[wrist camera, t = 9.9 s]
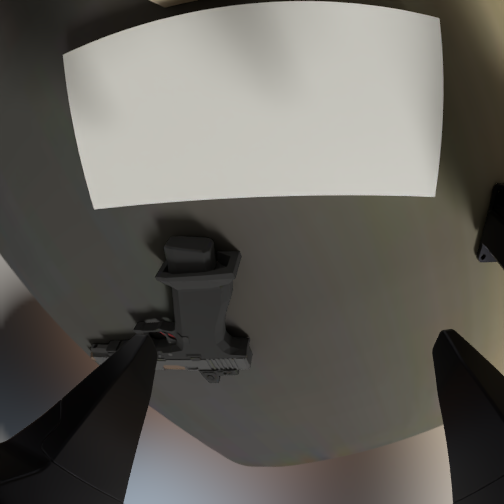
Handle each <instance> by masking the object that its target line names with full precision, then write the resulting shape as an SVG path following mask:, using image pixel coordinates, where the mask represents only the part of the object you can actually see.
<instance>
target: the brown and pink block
mask: <svg viewBox="0 0 504 504" xmlns="http://www.w3.org/2000/svg"><path fill="white" fill-rule="evenodd" d="M150 1H152V2H154V3H156V4H159V5H161V6H163V7H169V6H173V5H178V4H182V3H187V2H191V1H196V0H150Z"/></svg>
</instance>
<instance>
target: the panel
mask: <svg viewBox="0 0 504 504" xmlns="http://www.w3.org/2000/svg"><path fill="white" fill-rule="evenodd" d="M63 61H64V70H65V78H66V85H67V92H68V98H69V104H70V110H71V116H72V121H73V126H74V131H75V136H76V141H77V145H78V150H79V154H80V158H81V163H82V167H83V171H84V174H85V178H86V182H87V186H88V189H89V193H90V196H91V200H92V203H93V207H94V209H102V208H111V207H121V206H131V205H142V204H153V203H165V202H178V201H191V200H207V199H224V198H244V197H268V196H305V195H391V196H425V197H435V192H436V185H437V178H438V169H439V160H440V150H441V138H442V122H443V55H442V40H441V29H440V19H439V18H437V17H433V16H428V15H424V14H420V13H415V12H410V11H405V10H400V9H394V8H388V7H381V6H374V5H365V4H355V3H343V2H325V1H283V2H264V3H252V4H242V5H234V6H226V7H219V8H213V9H207V10H201V11H196V12H191V13H186V14H181V15H177V16H173V17H168V18H164V19H160V20H157V21H153V22H149V23H146V24H142V25H139V26H136V27H133V28H130V29H126V30H123V31H120V32H118V33H115V34H112V35H109V36H106V37H104V38H101V39H99V40H96V41H93V42H91V43H88V44H86V45H84V46H81V47H79V48H77V49H74V50H72V51H70V52H68V53H66V54H64V55H63Z"/></svg>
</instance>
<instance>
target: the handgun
mask: <svg viewBox="0 0 504 504" xmlns="http://www.w3.org/2000/svg"><path fill="white" fill-rule="evenodd" d="M164 251H165V256H166V261H165V262H164V263H163V264H162V266H161V268H160V269H159V271H158V273H157V274H156V276H155V278H156V279H157V281H160V282H162V283H164V284H166V285H169V286H171V287H172V294H173V306H174V316H175V323H170V322H166V321H163V320H162V321H160V322H156V323H145V322H138V323H137V325H136V326H135V328H134V332H135V333H136V334H148V335H149V333H148V332H160V333H162V334H163V335H165V336H166V338H165V339H154V338H152V337H151V336H150V335H149V336H150V337H151V339H152V341H153V343H154V345H155V348H156V350H157V353H158V358H157V364H156V369H155V370H166V369H186V370H193V371H200V373H201V374H202V375H203V377H204V378H205V379H206V380H207V381H208V382H210V383H219V381H220V376H222V375H238V374H239V369H242V370H246V369H249V368H250V367H251V361H252V355H253V354H252V351H251V349H250V347H249V342H250V338H242V337H232V336H230V335H229V334H228V333H227V331H226V327H225V316H226V311H227V308H228V305H229V302H230V298H231V295H232V291H233V280H234V279H235V277H236V274H237V270H238V267H239V263H240V260H241V254H240V251H218V252H217V255H218V258H219V260H218V262H217V261H216V258H215V249H214V242H213V241H212V240H211V239H210V238H205V237H187V236H176V237H170V239H169V240H168V242H167V243H166V245H165V246H164ZM128 341H129V340H124V341H110V343H109V345H101V344H93V345H92V346H91V358H92V360H94V361H97V362H98V363H99V364H100V365H101V364H102V363H103V362H104V361H106V360H107V359H108V358H109V357H110V356H111V355H113V354H114V353H115V352H116V351H117V350H118V349H119V348H121V347H122V346H123V345H124V344H125V343H126V342H128Z"/></svg>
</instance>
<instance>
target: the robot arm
mask: <svg viewBox="0 0 504 504" xmlns="http://www.w3.org/2000/svg"><path fill="white" fill-rule="evenodd" d="M499 189H500V191H499ZM498 191H499V192H498ZM482 255H483V256H482ZM481 256H482V257H481ZM476 257H477V259H478V260H479V261H480V262H498V263H499V264H500V266H501V267H502V268H503V269H504V184H503V183H497V184H495V186H494V188H493V192H492V197H491V202H490V206H489V211H488V215H487V219H486V223H485V227H484V231H483V235H482V238H481V242H480V245H479V249H478V252H477V256H476ZM432 354H433V361H434V368H435V376H436V384H437V392H438V398H439V403H440V408H441V413H442V418H443V424H444V429H445V436H446V441H447V448H448V456H449V464H450V472H451V482H452V494H453V504H504V376H503V375H502V374H501V373H500V372H499V371H498V370H497V369H496V368H495V367H494V366H493V365H492V364H491V363H490V362H489V361H488V360H486V359H485V358H484V357H483V356H482V355H481V354H480V353H479V352H478V351H477V350H476V349H475V348H474V347H472V346H471V345H470V344H469V343H468V342H467V341H466V340H465V339H464V338H463V337H461V336H460V335H459V334H458V333H457V332H456V331H455V330H453V329H448V330H442V331H441V332H440V334H439V336H438V338H437V340H436V342H435V345H434V347H433V352H432ZM157 358H158V353H157V350H156V348H155V345H154V343H153V341H152V339H151V337H150V336H149V335H148V334H136V335H135V336H133V337H132V338H131V339H130V340H129V341H128V342H126V343H125V344H124V345H123V346H122V347H121V348H119V349H118V350H117V351H116V352H115V353H114V354H113V355H111V356H110V357H109V358H108V359H107V360H106V361H104V362H103V363H102V364H101V365H100V366H99V367H97V368H96V369H95V370H94V371H93V372H92V373H91V374H89V375H88V376H87V377H86V378H85V379H84V380H83V381H81V382H80V383H79V384H78V385H77V386H76V387H74V388H73V389H72V390H71V391H70V392H69V393H68V394H66V396H64V397H63V398H62V400H60V401H58V402H57V403H56V404H55V405H54V406H53V407H51V408H50V409H49V410H48V411H47V412H46V413H44V414H43V415H42V416H41V417H39V418H38V419H37V420H35V421H34V422H33V423H31V424H30V425H28V426H27V427H26V428H24V429H23V430H21V431H20V432H19V433H17V434H16V435H14V436H13V437H12V438H10V439H9V440H7V441H5V442H2V443H0V504H123V502H124V498H125V494H126V489H127V485H128V480H129V477H130V473H131V469H132V465H133V460H134V457H135V453H136V449H137V445H138V441H139V438H140V434H141V430H142V426H143V423H144V419H145V416H146V412H147V408H148V405H149V401H150V397H151V392H152V386H153V380H154V375H155V369H156V364H157Z"/></svg>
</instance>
